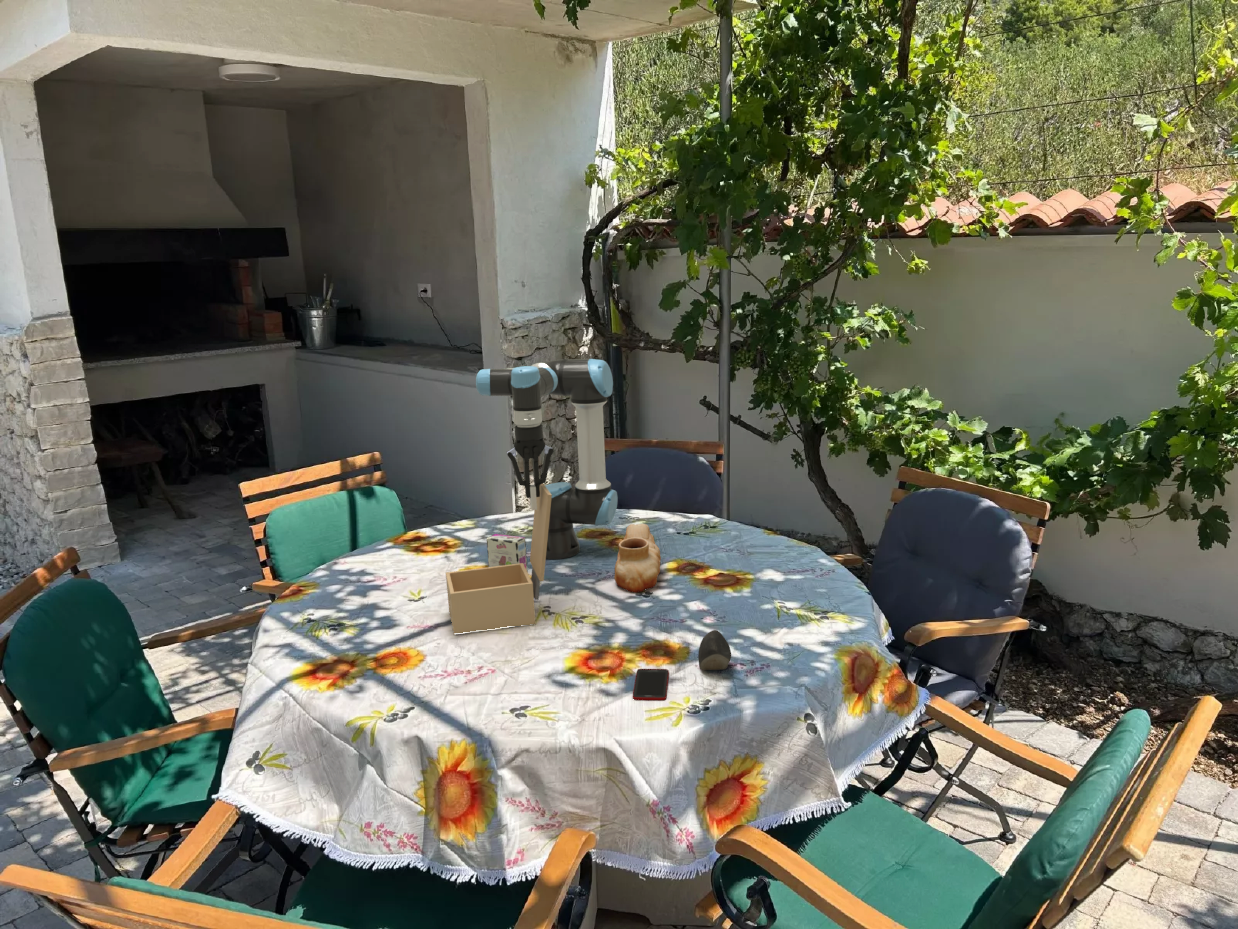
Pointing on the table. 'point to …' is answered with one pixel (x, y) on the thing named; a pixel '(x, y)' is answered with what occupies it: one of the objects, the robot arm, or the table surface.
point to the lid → (540, 538)
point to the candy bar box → (506, 550)
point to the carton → (490, 598)
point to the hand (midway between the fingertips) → (533, 508)
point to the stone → (714, 652)
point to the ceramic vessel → (637, 560)
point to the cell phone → (651, 684)
